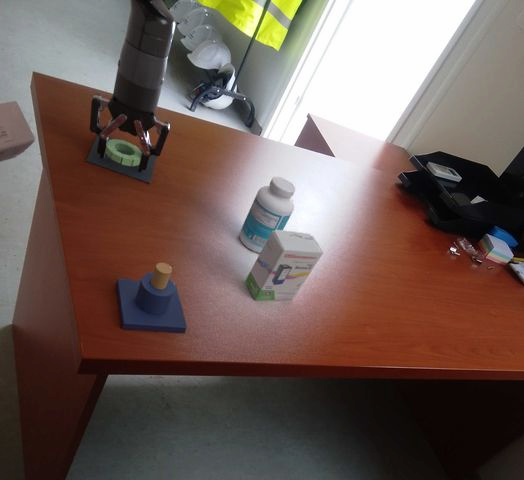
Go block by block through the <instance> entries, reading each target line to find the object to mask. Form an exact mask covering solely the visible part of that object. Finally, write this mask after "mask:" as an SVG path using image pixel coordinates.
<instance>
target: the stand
mask: <svg viewBox="0 0 524 480" xmlns="http://www.w3.org/2000/svg"><path fill="white" fill-rule="evenodd" d="M153 270H154V271H151V272H146V273H145V274H144V275H143V276H142V277H141V279H140V280H137V279H127V278H120V277H118V278H117V279H116V293H117V301H118V308H119V315H120V322H121V329H122V330H133V331H147V332H150V331H151V332H162V333H176V334H177V333H179V334H185V333H186V331H187V323H186V319H185V318H186V317H185V315H184V311H183V307H182V302H181V298H180V294H179V290H178V286H177V284H175V283H174V281H173V280H172V279H171V278H170V277H171V274H172V272H173V269H172V267H171V265H170V264H168V263H165V262H158V263H156V265H155V268H154V269H153Z"/></svg>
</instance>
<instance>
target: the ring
mask: <svg viewBox="0 0 524 480" xmlns="http://www.w3.org/2000/svg"><path fill="white" fill-rule="evenodd" d="M112 139H113V140H109V141H108V142H107V144H106V149H105V153H106V154H107V155H108V157H109V158H111V159H112V160H114V161H116V162H117V163H119V164H120V163H121V164H122V165H127V166H136V165H139V164H140V161H141V157H142V152H141V151H140V150H139V149H140V148H139V147H137V146H136V145H134V144H133V143H131V142H129V141H128V142H127V141H126V140H123V139H118V138H117V139H116V138H112ZM117 150H122V151H125V152H127V153H129V154H131V155H125V154H122V153H120V152H118V151H117Z"/></svg>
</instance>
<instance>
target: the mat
mask: <svg viewBox="0 0 524 480" xmlns="http://www.w3.org/2000/svg"><path fill="white" fill-rule="evenodd" d="M113 139H114V138H112V137H109V138H108V141H109V140H113ZM98 143H99V136H98V135H97V134H96V137H95V139H94V142H93V143H92V146H91V149H90V150H89V153H88V155H87V158H86V160H85V162H87V163H89V164H93V165H95V166H98V167H101V168H104V169H106V170H108V171H109V170H110V171H112V172H115V173H117V174H120V175H122V176H123V175H124V176H126V177H129V178H132V179H135V180H137V181H139V182H143V183H145V184H147V185H148V184H149V185H150V184H151V182H152V177H153V174H154V173H153V172H154V168H155V163H156V160H157V156H155V155H151V156H150V157H149V160H148V164H147V168H146V169H145V170H142V172H139V171H138V169H139V165H140V164H139V165H136V166H127V165H122V164H121V163H120V164H119V163H117V162H116V161H114V160H112V159H111V158H109V157H108V155H107V154H105V157H104V159H103V158H100V154H98V152H97V149H98ZM138 149H139V150H140V151H141V152H142V153H143V149H141V148H138ZM117 151H118V152H120V153H122V154H125V155H131V154H129V153H127V152H125V151H122V150H117Z"/></svg>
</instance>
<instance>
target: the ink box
mask: <svg viewBox="0 0 524 480" xmlns="http://www.w3.org/2000/svg"><path fill="white" fill-rule="evenodd" d="M323 251H324V250H322V248H321V246H320V245H319V243H318V242H317V240H316V239H315V237H314V235H312V234H311V233H309V232H300V231H291V230H284V229H283V230H275V231H272V232H271V234H270V236H269V238H268V240H267V241H266V243H265V245H264V247H263V249H262V251H261V252H260V253H258V256H257V258H256V260H255V261H254V263H253V266H252V267H251V269H250V271H249V273H248V275H247V277H246V278H245V280H244V282H245V285H246V286H247V288H248V290H249V292H250V294H251V296H252V297H253V299H254V300H255V301H279V300H280V301H282V300H283V301H284V300H294V299H295V297H296V296H297V294H298V293H299V291H300V290H301V289H302V287H303V285H304V283H305V282H306V281H307V279H308V278H309V276H310V274H311V273H312V271H313V269H315V267H316V266H317V263H318V262H319V261H320V258H321V257H322V256H323V254H324V252H323Z"/></svg>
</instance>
